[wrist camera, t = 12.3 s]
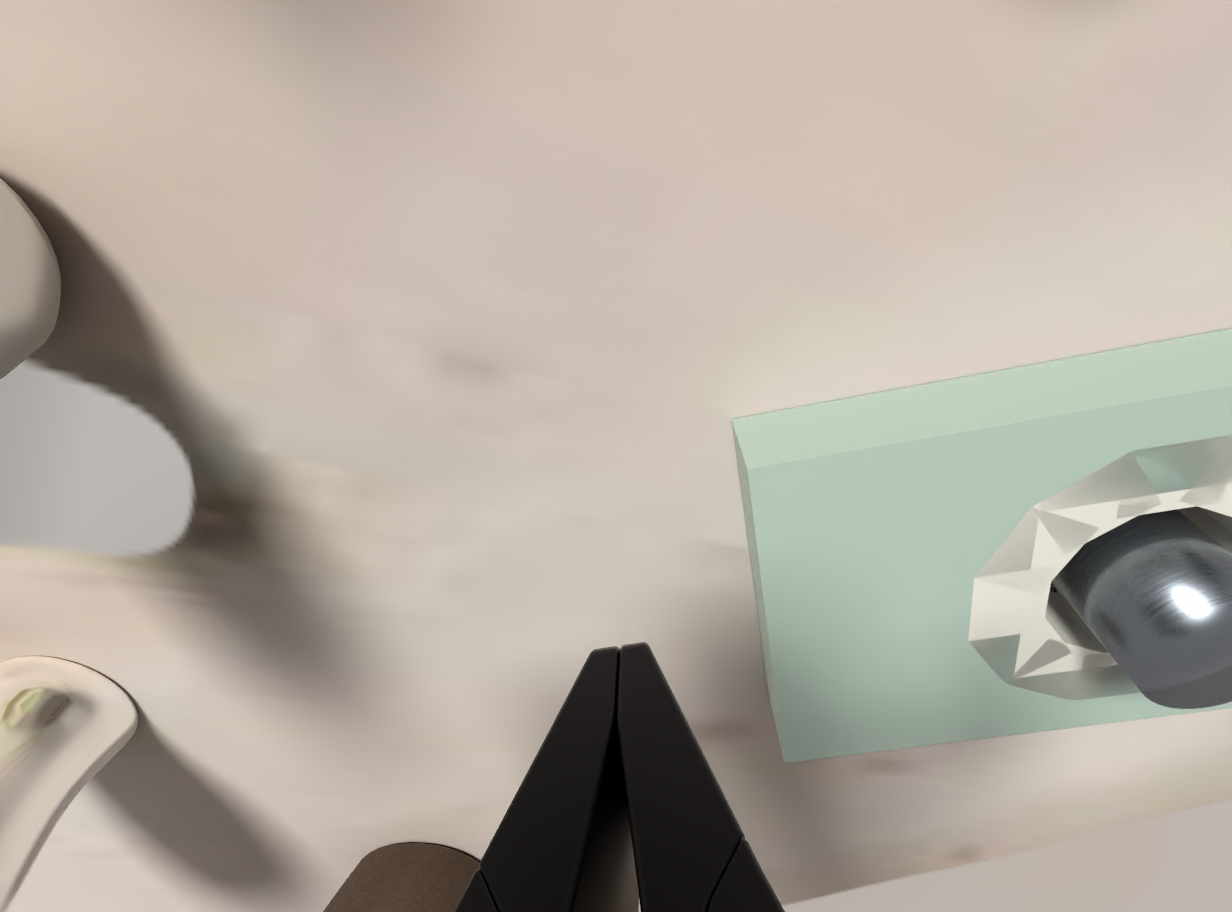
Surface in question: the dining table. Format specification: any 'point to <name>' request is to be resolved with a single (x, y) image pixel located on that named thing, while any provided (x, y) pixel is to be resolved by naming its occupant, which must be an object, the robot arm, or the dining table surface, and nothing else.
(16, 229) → the plastic bottle
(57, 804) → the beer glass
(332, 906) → the plant pot
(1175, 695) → the dark metal cylinder
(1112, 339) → the dining table surface
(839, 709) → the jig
